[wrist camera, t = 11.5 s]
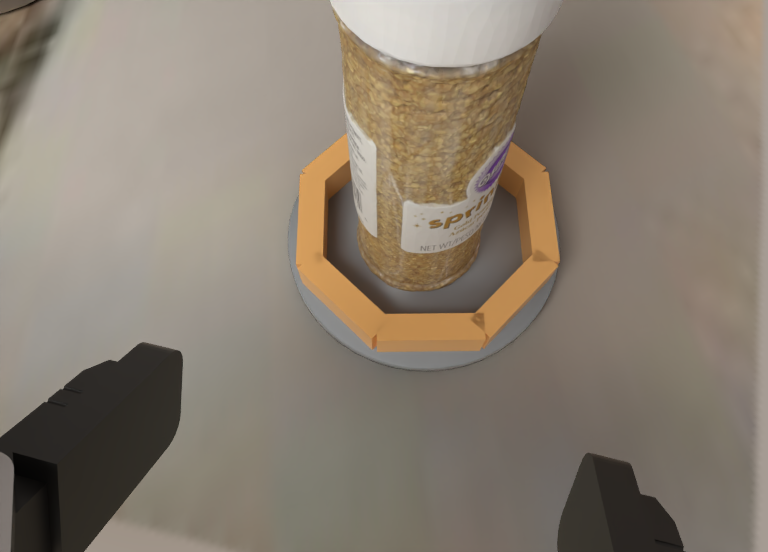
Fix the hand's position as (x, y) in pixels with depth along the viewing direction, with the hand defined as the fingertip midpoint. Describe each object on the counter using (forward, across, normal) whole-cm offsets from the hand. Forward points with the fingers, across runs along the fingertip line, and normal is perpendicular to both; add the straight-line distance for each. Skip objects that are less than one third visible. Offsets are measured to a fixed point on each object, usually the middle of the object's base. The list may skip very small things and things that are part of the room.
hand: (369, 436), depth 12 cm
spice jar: (+12, 0, 0) cm, 12 cm away
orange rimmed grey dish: (+12, 0, 0) cm, 12 cm away
